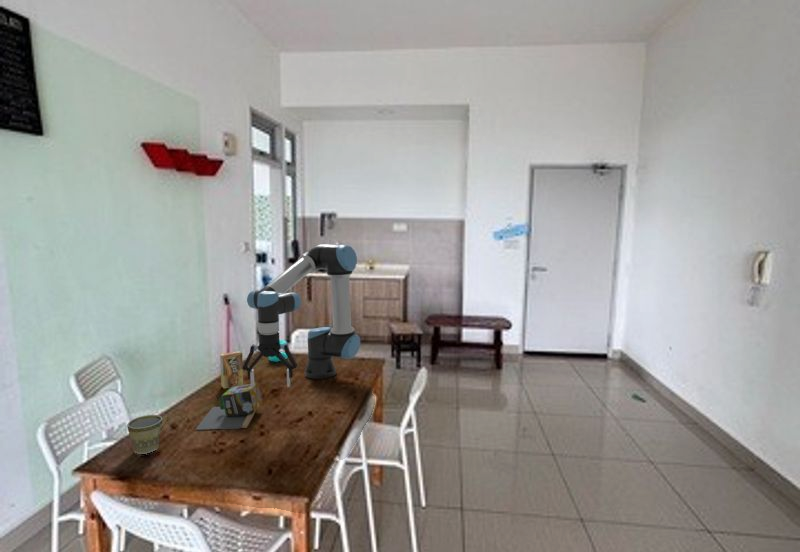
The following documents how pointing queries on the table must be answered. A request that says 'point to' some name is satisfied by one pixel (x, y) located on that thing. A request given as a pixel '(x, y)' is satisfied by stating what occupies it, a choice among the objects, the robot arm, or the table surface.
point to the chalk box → (241, 400)
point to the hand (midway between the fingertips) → (270, 386)
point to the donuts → (280, 352)
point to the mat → (224, 420)
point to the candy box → (231, 369)
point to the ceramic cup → (145, 433)
